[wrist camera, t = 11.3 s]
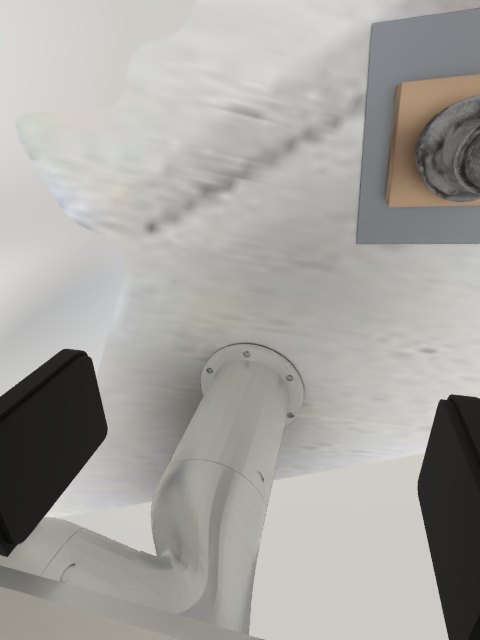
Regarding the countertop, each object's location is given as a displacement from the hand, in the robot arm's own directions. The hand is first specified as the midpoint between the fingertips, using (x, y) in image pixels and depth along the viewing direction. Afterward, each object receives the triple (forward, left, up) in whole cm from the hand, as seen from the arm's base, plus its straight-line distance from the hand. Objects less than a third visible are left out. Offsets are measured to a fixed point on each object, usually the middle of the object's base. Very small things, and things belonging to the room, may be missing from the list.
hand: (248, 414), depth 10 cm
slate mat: (+5, -9, -28) cm, 30 cm away
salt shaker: (+4, -9, -23) cm, 26 cm away
